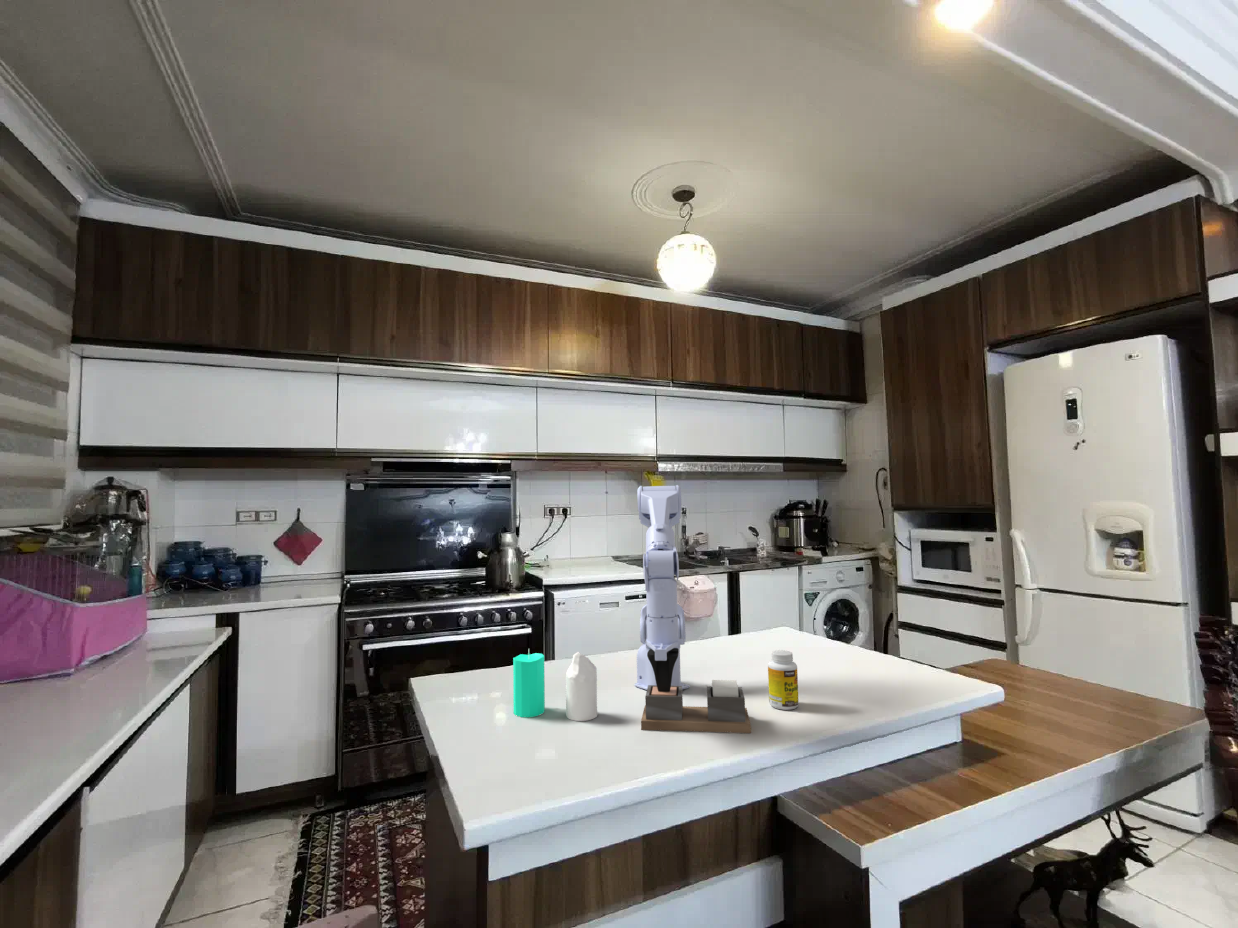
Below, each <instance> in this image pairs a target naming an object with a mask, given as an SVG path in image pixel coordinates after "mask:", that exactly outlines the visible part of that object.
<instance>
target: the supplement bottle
mask: <svg viewBox="0 0 1238 928" xmlns="http://www.w3.org/2000/svg"><path fill="white" fill-rule="evenodd" d="M793 660H794V655H793V652H791V651H790V650H783V649H781V650H780V649H779V650H777V649H776V650H772V651H771V660H769V662H768V663H767V678H768V681H767V682H768V703H769V705H770V706H771V707H772V708H775V709H777V710H784V711H790V710H791V711H792V710H795V709H797V708H798V706H799V683H798V682H799V681H798V678H799V677H798V676H799V675H798V664H797V663H796V662H795V661H793Z"/></svg>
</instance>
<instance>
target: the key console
mask: <svg viewBox="0 0 1238 928" xmlns="http://www.w3.org/2000/svg"><path fill="white" fill-rule="evenodd" d="M653 687H657V685H648V688H647V690H646V692H645V695H644V697H645V705H644V708H643V712H642V716H641V719H640V729H641V730H643V731H673V732H675V731H676V732H699V733H701V732H702V733H703V732H707V733H737V734H738V733H739V734H742V733H743V734H751V733H752V727H751V726H752V724H751V720H750V717H749V712H748V709H747V707H746V700H745V695H744V691H743V687H742V686H738V697H713V690H712V685H711V686H710V685H709V686H706V699H707V702H706V703H707V704H706V705H707V706H687V705H686V706H684V705H683V699H684V698H683V690H682V686H671V687H677V696H658V695H651V694H652V689H653Z"/></svg>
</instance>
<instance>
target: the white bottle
mask: <svg viewBox="0 0 1238 928" xmlns="http://www.w3.org/2000/svg"><path fill="white" fill-rule="evenodd" d="M597 671H598V670H597V667H596V665H595V664H594V663H593V662H592V661H591V660H590V659H589V657H587V656H586V655H585V654H582V653H580V651H577V652H576V653H573V655H572V661H571V664H569V667H568V668H567V670H566V673H565V708H566V710H565V712H566V713H565V714H566V715H565V716H566V718H567V719H569V720H570V721H576V722H585V721H586V722H587V721H591V720H594V719H596V718H597V717H598V702H597V701H598V695H597V694H598V693H597V692H598V687H597V686H598V679H597V677H598V674H597Z"/></svg>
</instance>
